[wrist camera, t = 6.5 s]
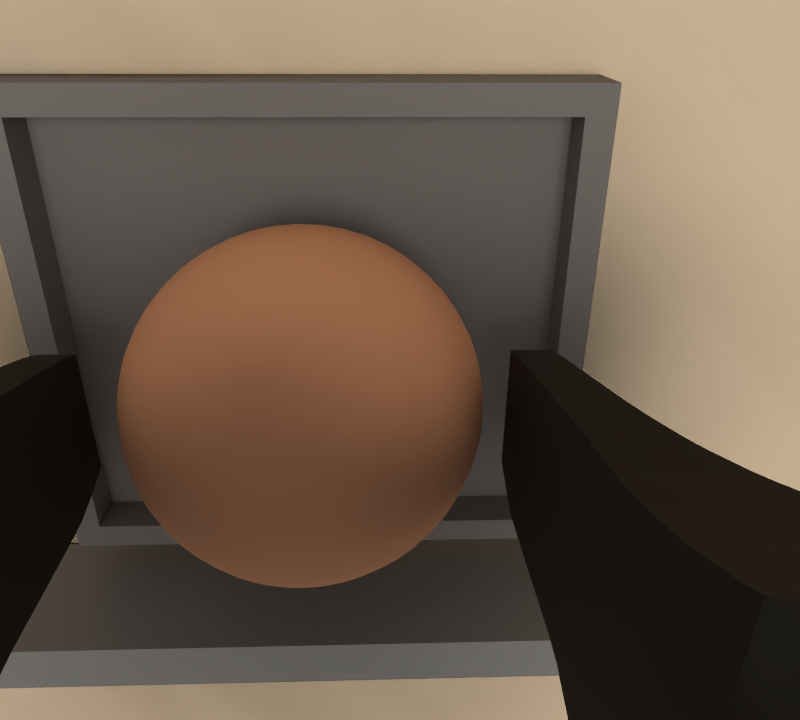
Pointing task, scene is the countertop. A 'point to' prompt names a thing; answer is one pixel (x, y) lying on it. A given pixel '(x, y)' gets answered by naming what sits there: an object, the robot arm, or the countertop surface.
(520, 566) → the low fence
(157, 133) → the charcoal dish
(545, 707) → the countertop surface
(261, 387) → the ball
